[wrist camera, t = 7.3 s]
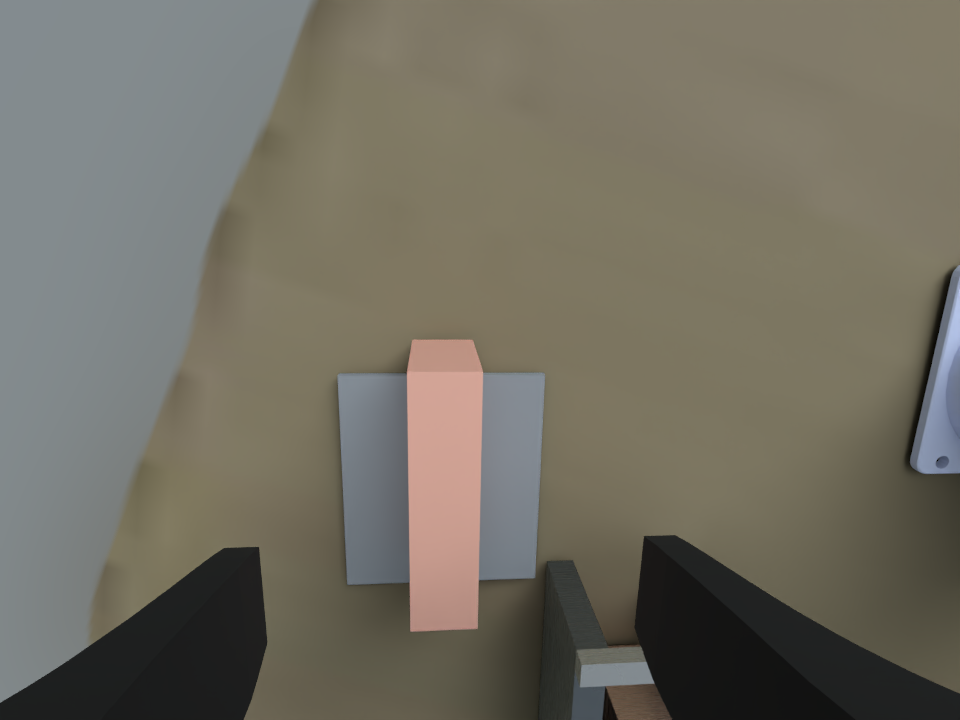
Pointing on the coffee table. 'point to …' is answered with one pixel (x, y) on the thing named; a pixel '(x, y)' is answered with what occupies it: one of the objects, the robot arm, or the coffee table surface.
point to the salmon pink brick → (444, 483)
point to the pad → (384, 475)
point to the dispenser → (589, 661)
